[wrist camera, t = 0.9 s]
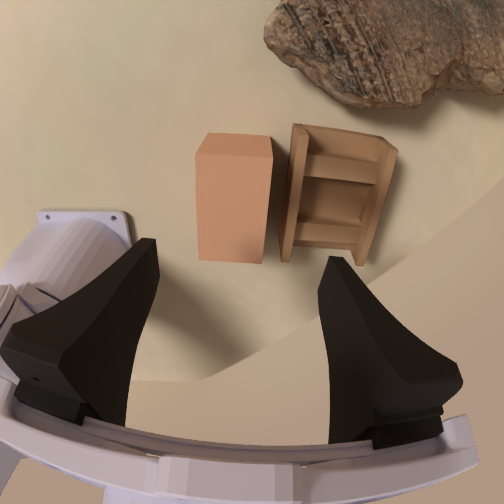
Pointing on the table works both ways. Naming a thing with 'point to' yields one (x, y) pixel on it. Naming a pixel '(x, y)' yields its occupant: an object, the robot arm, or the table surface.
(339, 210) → the rack
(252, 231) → the clay bar
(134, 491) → the robot arm
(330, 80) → the rough brown rock
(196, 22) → the table surface
